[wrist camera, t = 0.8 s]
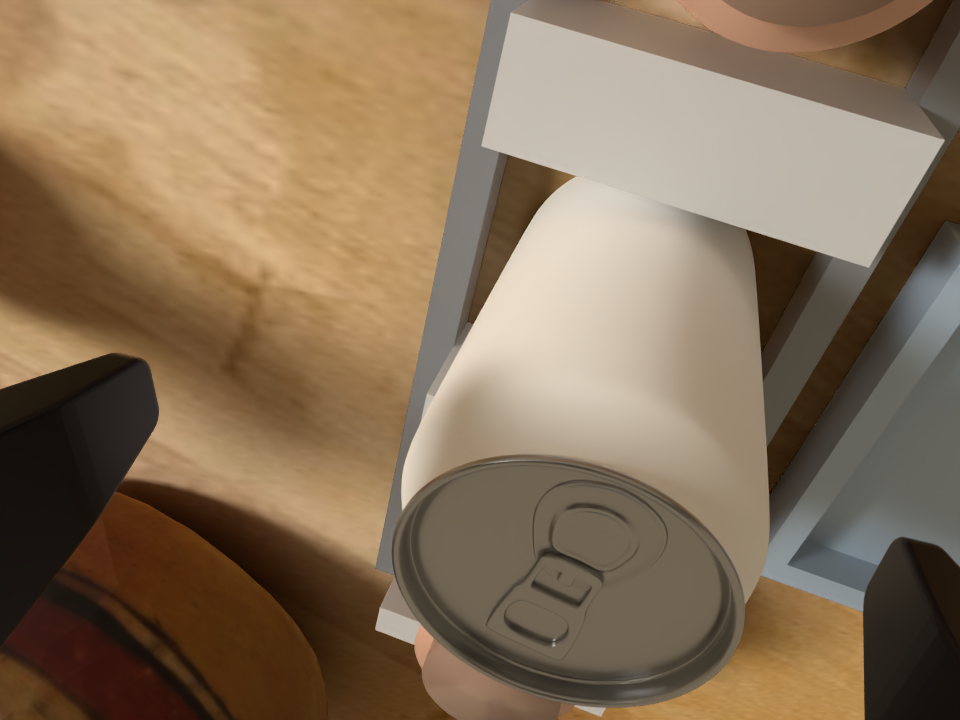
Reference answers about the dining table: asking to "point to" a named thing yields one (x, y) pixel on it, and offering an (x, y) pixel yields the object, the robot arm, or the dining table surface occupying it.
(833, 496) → the tray
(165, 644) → the ceramic pitcher
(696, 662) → the can
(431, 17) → the dining table surface
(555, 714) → the jar
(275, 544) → the dining table surface
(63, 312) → the dining table surface
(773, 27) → the jar
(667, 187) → the caddy
